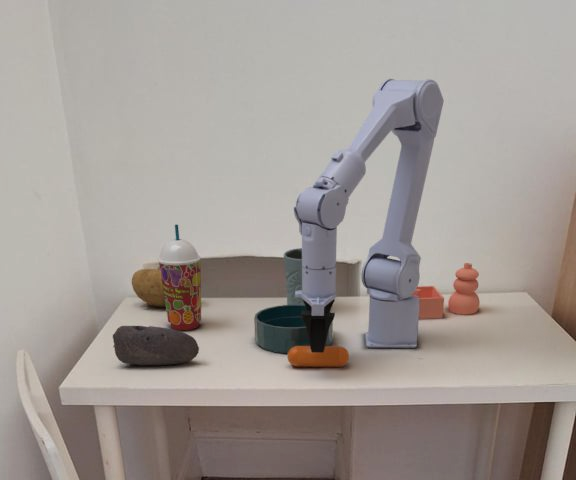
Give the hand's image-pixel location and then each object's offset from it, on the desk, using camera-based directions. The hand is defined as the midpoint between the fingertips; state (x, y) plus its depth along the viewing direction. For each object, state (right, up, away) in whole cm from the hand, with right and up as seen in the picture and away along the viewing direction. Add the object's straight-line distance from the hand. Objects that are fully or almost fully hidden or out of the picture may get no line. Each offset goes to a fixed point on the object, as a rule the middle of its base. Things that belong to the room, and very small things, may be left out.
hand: (318, 344), depth 132 cm
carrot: (0, -3, +2) cm, 4 cm away
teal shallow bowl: (-4, +4, +14) cm, 15 cm away
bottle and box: (+27, +14, +29) cm, 42 cm away
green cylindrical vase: (-1, +15, +32) cm, 35 cm away
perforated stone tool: (-29, -3, +4) cm, 29 cm away
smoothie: (-27, +9, +23) cm, 36 cm away
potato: (-33, +17, +36) cm, 51 cm away
